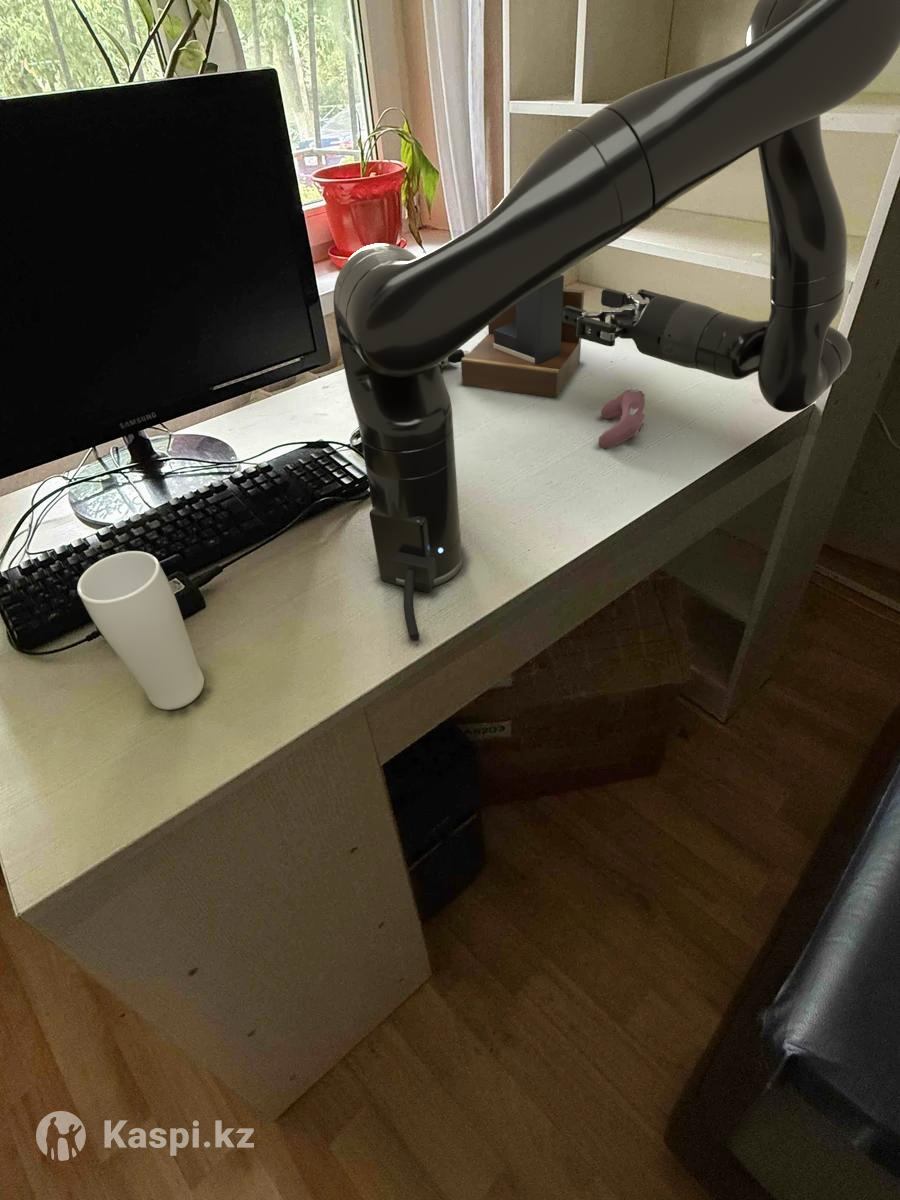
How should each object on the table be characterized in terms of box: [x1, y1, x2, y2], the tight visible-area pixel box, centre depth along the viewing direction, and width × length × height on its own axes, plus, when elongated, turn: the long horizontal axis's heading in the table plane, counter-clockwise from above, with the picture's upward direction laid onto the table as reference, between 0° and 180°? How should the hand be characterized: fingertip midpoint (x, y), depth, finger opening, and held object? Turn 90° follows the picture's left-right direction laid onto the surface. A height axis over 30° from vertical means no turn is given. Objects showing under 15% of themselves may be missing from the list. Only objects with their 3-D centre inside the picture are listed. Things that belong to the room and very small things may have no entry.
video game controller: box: [598, 387, 646, 449], centre depth 96 cm, size 10×5×7 cm, turn 168°
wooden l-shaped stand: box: [460, 288, 585, 399], centre depth 110 cm, size 13×16×12 cm
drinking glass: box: [76, 550, 205, 711], centre depth 62 cm, size 7×7×15 cm
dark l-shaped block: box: [493, 274, 565, 364], centre depth 107 cm, size 10×5×12 cm, turn 42°
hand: (583, 304), depth 97 cm, fingers open, 8 cm apart
